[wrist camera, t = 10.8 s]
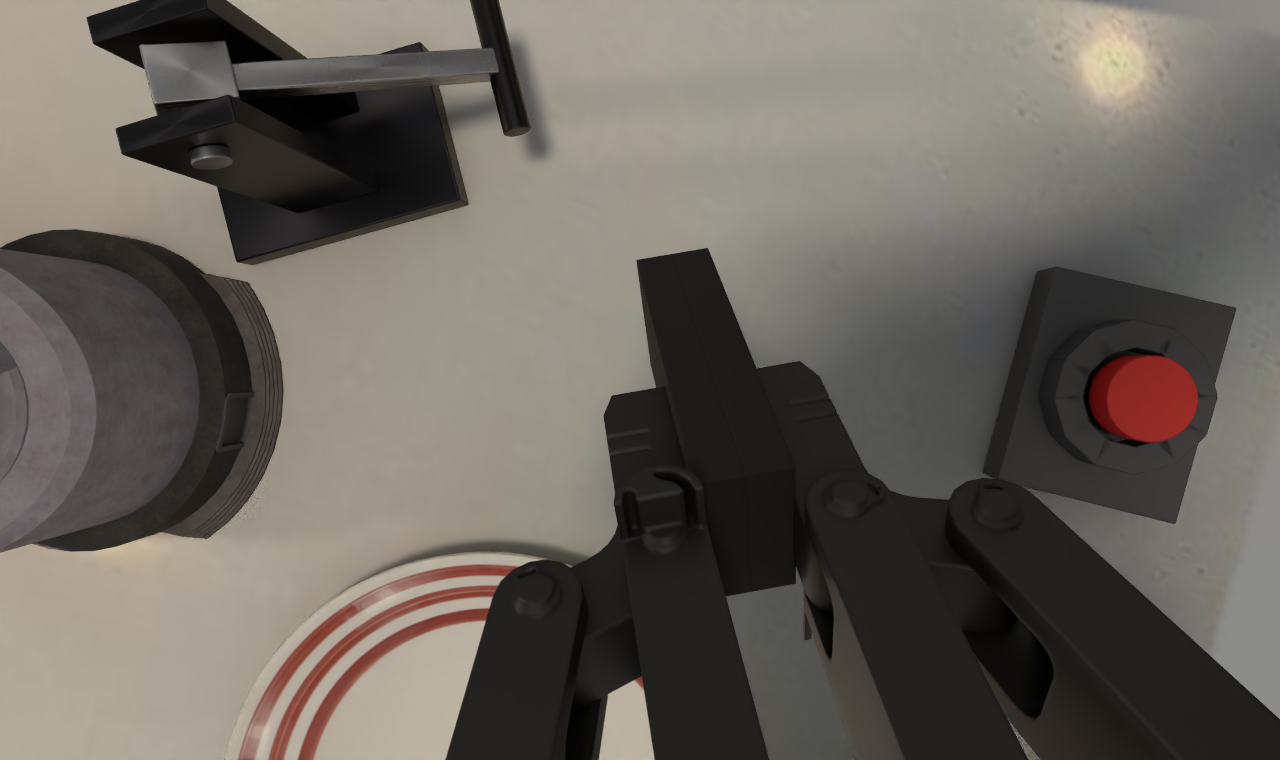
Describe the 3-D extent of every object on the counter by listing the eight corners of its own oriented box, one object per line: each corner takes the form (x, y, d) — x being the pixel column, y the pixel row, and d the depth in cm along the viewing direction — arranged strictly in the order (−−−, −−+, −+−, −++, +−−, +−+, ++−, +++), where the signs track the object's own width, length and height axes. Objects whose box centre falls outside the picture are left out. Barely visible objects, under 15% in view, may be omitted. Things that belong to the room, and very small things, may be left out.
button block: (1036, 270, 40) (1072, 261, 36) (1208, 310, 39) (1263, 305, 35) (982, 472, 40) (1011, 485, 36) (1150, 514, 40) (1198, 533, 36)
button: (1100, 346, 36) (1120, 346, 34) (1185, 366, 36) (1209, 367, 34) (1078, 426, 36) (1096, 430, 34) (1162, 447, 36) (1185, 452, 34)
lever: (489, 9, 37) (503, -19, 35) (522, 140, 37) (538, 119, 35) (133, 23, 31) (124, -10, 29) (173, 178, 31) (167, 157, 29)
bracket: (430, 51, 42) (291, -95, 28) (468, 204, 42) (349, 133, 28) (212, 116, 43) (-22, 5, 29) (251, 265, 43) (34, 225, 30)
